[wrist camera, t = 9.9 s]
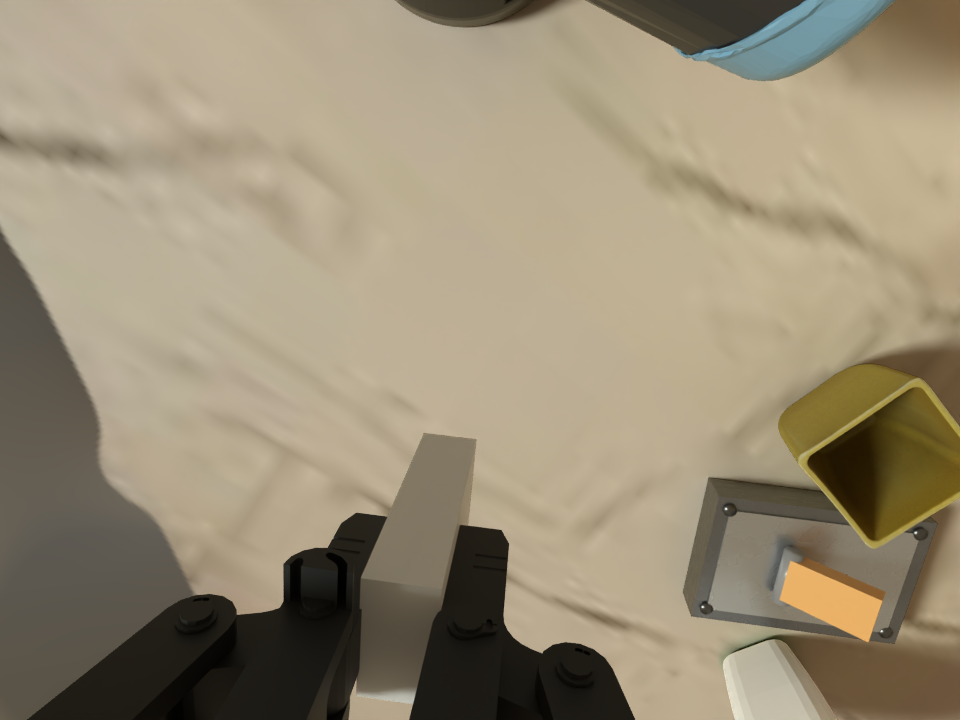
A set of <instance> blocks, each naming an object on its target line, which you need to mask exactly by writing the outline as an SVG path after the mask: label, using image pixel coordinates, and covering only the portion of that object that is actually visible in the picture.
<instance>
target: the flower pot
mask: <svg viewBox="0 0 960 720" xmlns="http://www.w3.org/2000/svg"><path fill="white" fill-rule="evenodd" d="M778 428H779V432H780V435H781V437H782V439H783V440H784V442H785V444H786V445H787V447H788V448H789V450H790V452H791V453H792V455H793V456H794V458H795V459H796V461H797V462H798V464H799V466H800V467H801V468H802V469H803V470H804V471H805V473H806V474H807V475H808V476H809V477H810V478H811V479H812V480H813V481H814V482H815V484H816V485H817V486H818V487H819V488H820V489H821V490H822V491H823V493H824V494H825V495H826V496H827V497H828V498H829V499H830V501H831V502H832V503H833V504H834V505H835V507H836V508H837V509H838V510H839V511H840V513H841V514H842V515H843V516H844V518H845V519H846V520H847V521H848V523H849V524H850V525H851V526H852V528H853V529H854V530H855V531H856V533H857V534H858V535H859V536H860V538H861V539H862V540H863V542H864V543H865V544H866V545H867V546H868V547H870V548H872V549H876V548H878V547H880V546H882V545H884V544H886V543H887V542H889V541H891V540H892V539H894V538H895V537H897V536H898V535H900V534H902V533H904V532H905V531H907V530H908V529H910V528H911V527H913V526H915V525H916V524H918V523H919V522H921V521H923V520H924V519H926V518H928V517H929V516H931V515H933V514H934V513H936V512H937V511H939V510H941V509H943V508H944V507H946V506H948V505H949V504H951V503H952V502H954V501H955V500H957V499H959V498H960V426H959V424H958V423H957V422H956V421H955V419H954V418H953V417H952V415H951V414H950V413H949V411H948V410H947V409H946V407H945V406H944V405H943V404H942V402H941V401H940V399H939V398H938V397H937V395H936V394H935V393H934V391H933V390H932V389H931V387H930V386H929V385H928V384H927V383H926V382H925V381H924V380H923V379H922V378H919V377H916V376H913V375H910V374H907V373H904V372H901V371H898V370H895V369H891V368H888V367H885V366H881V365H877V364H861V365H856V366H853V367H850V368H847V369H845V370H843V371H841V372H839V373H837V374H835V375H834V376H832V377H831V378H830V379H828V380H827V381H825V382H824V383H823V384H821V385H820V386H818V387H817V388H816V389H814V390H813V391H811V392H810V393H808V394H807V395H806V396H804V397H803V398H801V399H800V400H798V401H797V402H795V403H794V404H792V405H791V406H790V407H788V408H787V409H786V410H785V411H784V413H783V414H782V415H781V417H780V419H779V423H778Z"/></svg>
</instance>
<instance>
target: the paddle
mask: <svg viewBox="0 0 960 720" xmlns="http://www.w3.org/2000/svg"><path fill="white" fill-rule="evenodd" d="M804 556H805V554H804V552H803V551H801V550H800V549H798V548H795V547H792V546H787V547H785V548H784V552H783V556H782V559H781V563H780V566H779V570H778V574H777V577H776V581H775V585H774V588H773V592H772V595H771V599H772V601H773V602H775V603H776V604H778V605H780V606H784V607H788V606H790V605H791V606H793V607H796V608H798V609H800V610H802V611H804V612H806V613H808V614H810V615H812V616H814V617H816V618H818V619H820V620H823V621H825V622H827V623H829V624H831V625H833V626H835V627H837V628H839V629H841V630H843V631H845V632H848V633H850V634H852V635H854V636H856V637H858V638H860V639H862V640H864V641H866V642H869V639H870V637H871V634H872V632H873V629H874V626H875V623H876V620H877V617H878V614H879V611H880V608H881V605H882V602H883V600H884V597H885V594H886V592H885V591H882V590H880V589H878V588H875V587H873V586H871V585H869V584H866V583H864V582H862V581H859V580H857V579H855V578H852V577H850V576H848V575H845V574H843V573H841V572H838V571H836V570H834V569H831V568H829V567H827V566H824V565H822V564H820V563H817V562H815V561H813V560H810V559H808V558H806V557H804Z"/></svg>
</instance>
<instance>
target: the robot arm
mask: <svg viewBox="0 0 960 720" xmlns="http://www.w3.org/2000/svg"><path fill="white" fill-rule="evenodd" d="M395 1H397V2H398V3H399V4H400V5H402V6H403V7H404V8H406V9H407V10H409V11H410V12H412V13H414V14H415V15H417V16H419V17H421V18H424V19H426V20H429V21H431V22H434V23H438V24H442V25H447V26H454V27H474V26H481V25H486V24H490V23H493V22H497V21H499V20H502V19H505V18H507V17H509V16H511V15H513V14H515V13H516V12H518V11H520V10H521V9H523V8H524V7H526V6H527V5H529V4H530V3H531V2H532V1H533V0H395ZM586 1H588V2H590V3H591V4H593V5H595V6H597V7H599V8H601V9H603V10H605V11H607V12H609V13H610V14H612V15H614V16H616V17H618V18H620V19H622V20H624V21H626V22H628V23H629V24H631V25H633V26H635V27H637V28H639V29H641V30H643V31H645V32H647V33H648V34H650V35H652V36H654V37H656V38H658V39H660V40H662V41H664V42H666V43H667V44H669V45H671V46H673V47H674V49H675V50H676V51H677V52H678V53H679V54H681V55H682V56H683V57H685V58H691V59H693V60H694V61H707V62H709V63H711V64H713V65H716V66H718V67H720V68H722V69H724V70H727V71H729V72H731V73H733V74H735V75H738V76H740V77H742V78H745V79H748V80H757V81H773V80H779V79H782V78H786V77H789V76H792V75H794V74H797V73H799V72H802V71H804V70H806V69H808V68H810V67H812V66H813V65H815V64H817V63H819V62H820V61H822V60H823V59H825V58H827V57H828V56H830V55H831V54H832V53H834V52H835V51H837V50H838V49H839V48H841V47H842V46H843V45H845V44H846V43H848V42H849V41H850V40H851V39H853V38H854V37H855V36H856V35H857V34H859V33H860V32H861V31H862V30H864V29H865V28H866V27H867V26H868V25H869V24H871V23H872V22H873V21H874V20H875V19H876V18H877V17H879V16H880V15H881V14H882V13H883V12H884V11H885V10H886V9H887V8H888V7H889V6H890V5H891V4H892V3H894V2H895V1H896V0H586ZM475 449H476V439H469V438H461V437H452V436H444V435H436V434H428V433H424V435H423V437H422V439H421V441H420V444H419V446H418V448H417V451H416V453H415V455H414V457H413V460H412V462H411V464H410V467H409V469H408V471H407V473H406V476H405V478H404V480H403V483H402V485H401V487H400V489H399V492H398V494H397V496H396V499H395V501H394V503H393V505H392V508H391V510H390V512H389V515H388V517H385V516H377V515H370V514H362V513H355V514H354V515H352V516H351V517H350V518H348V519H347V520H345V521H344V522H343V523H341V525H340V527H339V528H338V530H337V532H336V534H335V536H334V539H332V541H331V543H330V545H329V546H328V548H313V549H309V550H304V551H301V552H299V553H297V554H295V555H293V556H291V557H290V558H289V559H288V560H287V561H286V562H285V563H284V602H283V603H282V605H281V607H280V608H278V609H275V610H273V611H268V612H262V613H253V614H243V615H237V612H236V608H235V606H234V604H233V602H232V601H230V600H228V599H227V598H225V597H223V596H218V595H212V594H206V595H195V596H192V597H189V598H186V599H183V600H180V601H178V602H177V603H175V604H173V605H172V606H170V607H168V608H167V609H166V610H164V611H163V612H162V613H161V614H159V615H158V616H157V617H156V618H154V619H153V620H152V621H151V622H149V623H148V624H147V625H146V626H144V627H143V628H142V629H141V630H139V631H138V632H137V633H135V634H134V635H133V636H132V637H130V638H129V639H128V640H127V641H125V642H124V643H123V644H122V645H120V646H119V647H118V648H117V649H115V650H114V651H113V652H112V653H110V654H109V655H108V656H107V657H106V658H104V659H103V660H102V661H100V662H99V663H98V664H97V665H95V666H94V667H93V668H91V669H90V670H89V671H88V672H87V673H85V674H84V675H83V676H82V677H80V678H79V679H78V680H76V681H75V682H74V683H73V684H71V685H70V686H69V687H68V688H66V689H65V690H64V691H62V692H61V693H60V694H59V695H57V696H56V697H55V698H54V699H52V700H51V701H50V702H49V703H48V704H46V705H45V706H44V707H42V708H41V709H40V710H39V711H37V712H36V713H35V714H34V715H32V716H31V717H30V718H29V719H27V720H348V718H349V709H350V695H351V692H352V689H353V687H354V684H355V681H356V678H357V687H356V696H361V697H367V698H374V699H381V700H388V701H394V702H401V703H408V704H413V707H412V711H411V715H410V719H409V720H635V718H634V716H633V714H632V711H631V709H630V707H629V705H628V702H627V700H626V698H625V696H624V693H623V691H622V689H621V687H620V685H619V682H618V680H617V678H616V676H615V673H614V671H613V669H612V667H611V666H610V665H609V663H608V662H607V660H606V659H605V658H604V657H603V656H602V655H600V654H599V653H598V652H596V651H595V650H594V649H591V648H589V647H586V646H584V645H581V644H576V643H567V642H565V643H560V644H555V645H552V646H551V647H549V648H548V649H546V650H545V651H543V653H539V652H537V651H534V650H532V649H530V648H528V647H526V646H524V645H522V644H521V643H519V642H518V641H517V640H516V639H514V638H513V637H512V635H511V634H510V633H509V632H508V631H507V628H506V626H505V624H504V617H503V613H504V600H505V588H506V575H507V562H508V550H509V543H508V541H507V539H506V538H505V536H504V534H503V532H502V530H497V529H489V528H481V527H474V526H468V521H469V511H470V500H471V490H472V480H473V469H474V459H475Z"/></svg>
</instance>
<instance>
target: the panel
mask: <svg viewBox="0 0 960 720" xmlns="http://www.w3.org/2000/svg"><path fill="white" fill-rule="evenodd" d="M937 524H938V523H936V522H935V521H934V520H933V519H932V518H931V517H930V516H929V517H928V518H926V519H924V520H923V521H921V522H919V523H918V524H916V525H915V526H913V527H911V528H910V529H908V530H907V531H905V532H904V533H902V534H900V535H898V536H897V537H895V538H894V539H892V540H891V541H889V542H887V543H886V544H884V545H882V546H880V547H878V548H876V549H872V548H870V547H868V546H867V545H866V544H865V543H864V542H863V540H862V539H861V538H860V536H859V535H858V534H857V533H856V531H855V530H854V529H853V528H852V526H851V525H850V524H849V523H848V521H847V520H846V519H845V518H844V516H843V515H842V514H841V513H840V511H839V510H838V509H837V508H836V507H835V505H834V504H833V503H832V502H831V501H830V499H829V498H828V497H827V496H826V495H825V494H824V493H823V492H821V491H813V490H805V489H797V488H789V487H781V486H772V485H764V484H756V483H748V482H740V481H732V480H723V479H715V478H708V483H707V487H706V492H705V496H704V500H703V505H702V509H701V514H700V518H699V523H698V527H697V532H696V536H695V541H694V545H693V549H692V554H691V558H690V563H689V567H688V572H687V576H686V581H685V585H684V589H683V594H684V597H685V600H686V603H687V606H688V609H689V611H690V614H691V616H693V617H701V618H708V619H715V620H723V621H730V622H737V623H745V624H752V625H760V626H767V627H774V628H782V629H789V630H796V631H804V632H811V633H818V634H826V635H833V636H841V637H848V638H855V639H860V638H858V637H856V636H854V635H852V634H850V633H848V632H845V631H843V630H841V629H839V628H837V627H835V626H833V625H831V624H829V623H827V622H825V621H823V620H820V619H818V618H816V617H814V616H812V615H810V614H808V613H806V612H804V611H802V610H800V609H798V608H796V607H793V606H791V605H790V606H788V607H784V606H780V605H778V604H776V603H775V602H773V601H772V599H771V595H772V592H773V588H774V585H775V581H776V577H777V574H778V570H779V566H780V563H781V559H782V556H783V552H784V548H785V547H787V546H792V547H795V548H798V549H800V550H801V551H803V552H804V554H805V556H804V557H806V558H808V559H810V560H813V561H815V562H817V563H820V564H822V565H824V566H827V567H829V568H831V569H834V570H836V571H838V572H841V573H843V574H845V575H848V576H850V577H852V578H855V579H857V580H859V581H862V582H864V583H866V584H869V585H871V586H873V587H875V588H878V589H880V590H882V591H885V592H886V594H885V597H884V600H883V602H882V605H881V608H880V611H879V614H878V617H877V620H876V623H875V626H874V629H873V632H872V634H871V637H870V639H869V640H870V641H877V642H885V643H892V644H895V641H896V638H897V635H898V633H899V630H900V627H901V624H902V621H903V619H904V616H905V613H906V610H907V608H908V605H909V602H910V599H911V596H912V594H913V591H914V588H915V585H916V582H917V580H918V577H919V574H920V571H921V568H922V566H923V563H924V560H925V557H926V554H927V552H928V549H929V546H930V543H931V540H932V538H933V535H934V532H935V529H936V526H937Z"/></svg>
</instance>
